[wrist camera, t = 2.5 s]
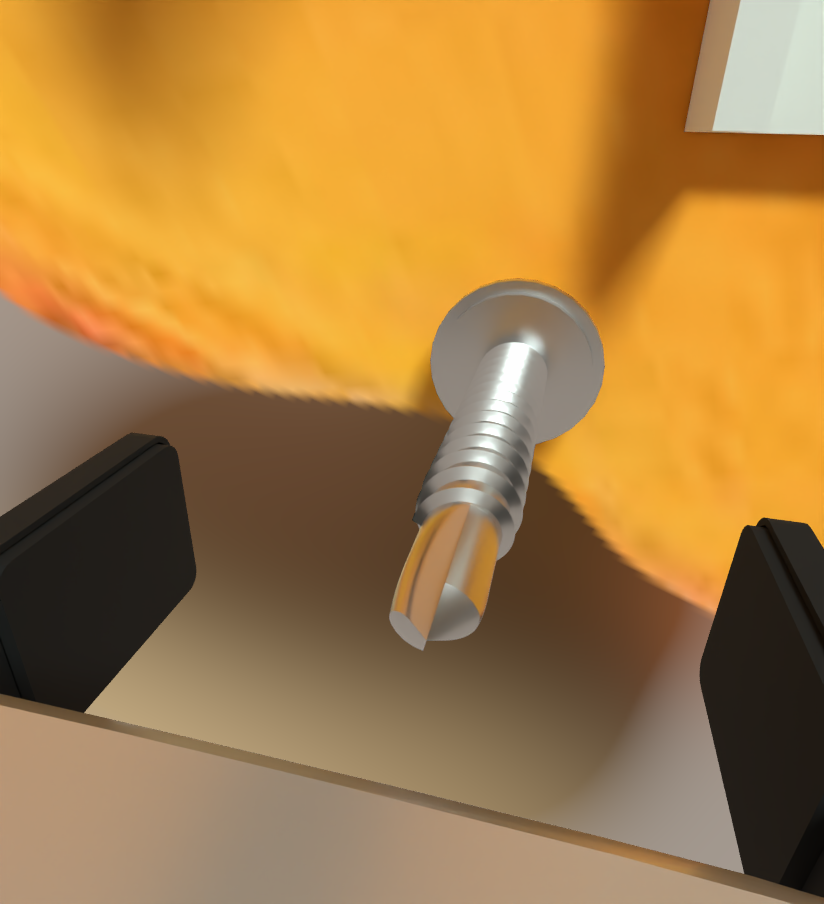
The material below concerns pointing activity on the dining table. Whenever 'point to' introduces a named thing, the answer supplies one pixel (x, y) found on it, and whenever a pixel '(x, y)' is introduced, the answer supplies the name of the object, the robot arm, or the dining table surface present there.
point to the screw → (491, 442)
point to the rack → (760, 69)
